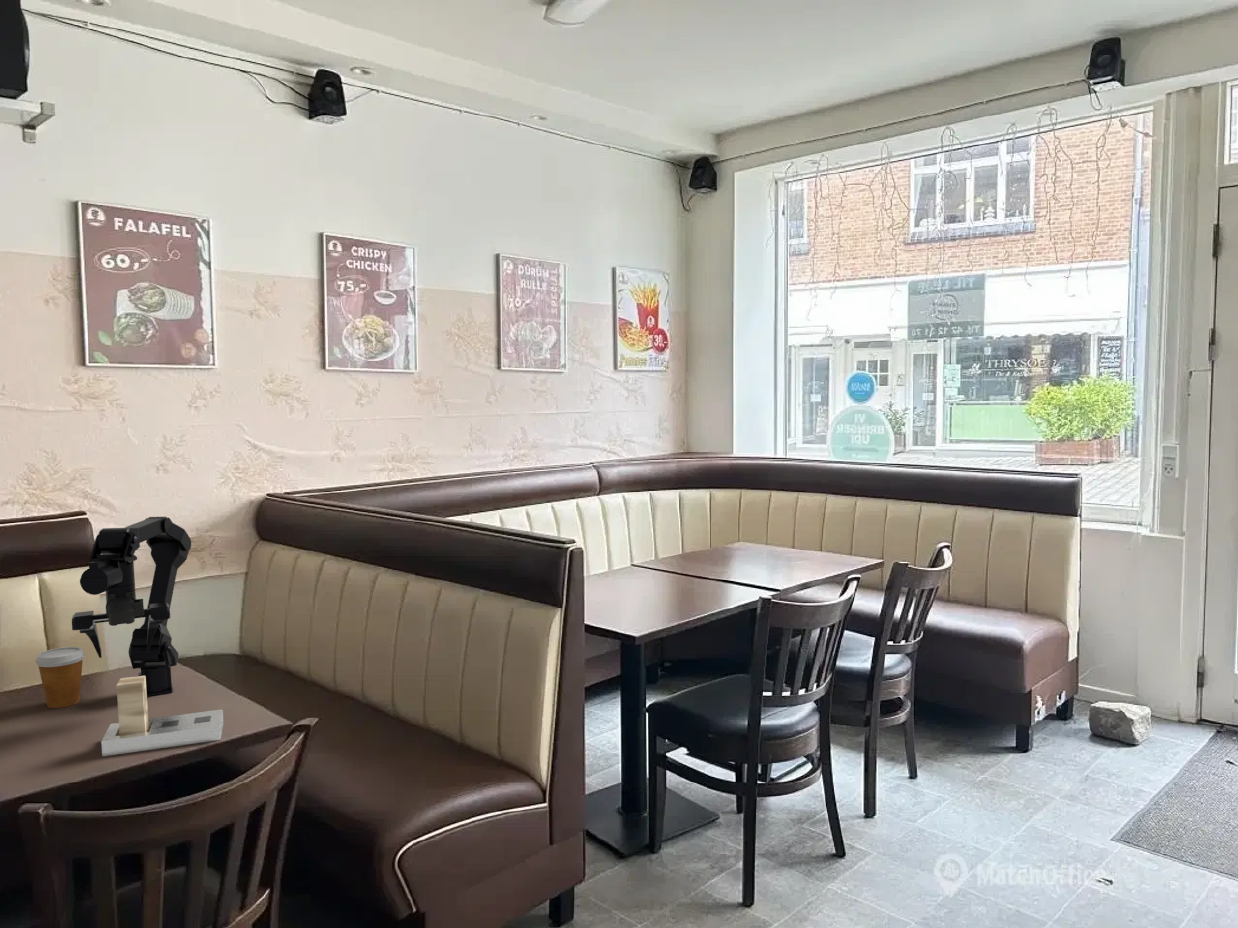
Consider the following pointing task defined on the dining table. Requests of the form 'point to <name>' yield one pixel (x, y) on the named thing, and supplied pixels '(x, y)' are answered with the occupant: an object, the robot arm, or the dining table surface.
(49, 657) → the disposable coffee cup
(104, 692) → the dining table surface
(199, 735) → the white flat block
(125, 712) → the beech peg
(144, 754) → the dining table surface
